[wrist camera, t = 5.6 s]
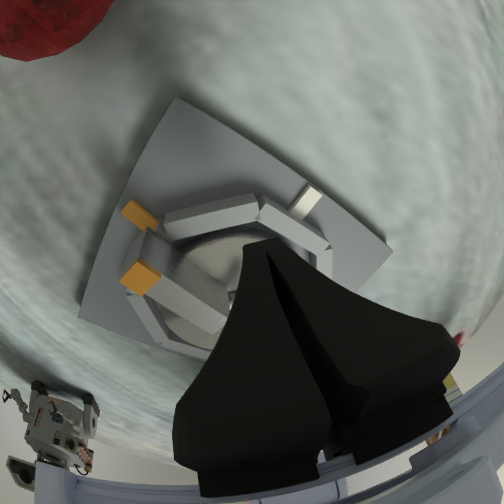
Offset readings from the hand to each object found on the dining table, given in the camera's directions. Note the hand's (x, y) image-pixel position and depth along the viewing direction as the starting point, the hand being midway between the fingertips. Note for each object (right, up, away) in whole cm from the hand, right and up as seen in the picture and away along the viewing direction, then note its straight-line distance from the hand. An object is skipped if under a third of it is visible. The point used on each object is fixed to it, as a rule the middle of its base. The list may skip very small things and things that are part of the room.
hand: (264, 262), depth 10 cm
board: (-2, -1, +8) cm, 8 cm away
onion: (-9, +12, -3) cm, 16 cm away
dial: (-2, -1, +6) cm, 7 cm away
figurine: (-23, -16, +13) cm, 31 cm away
